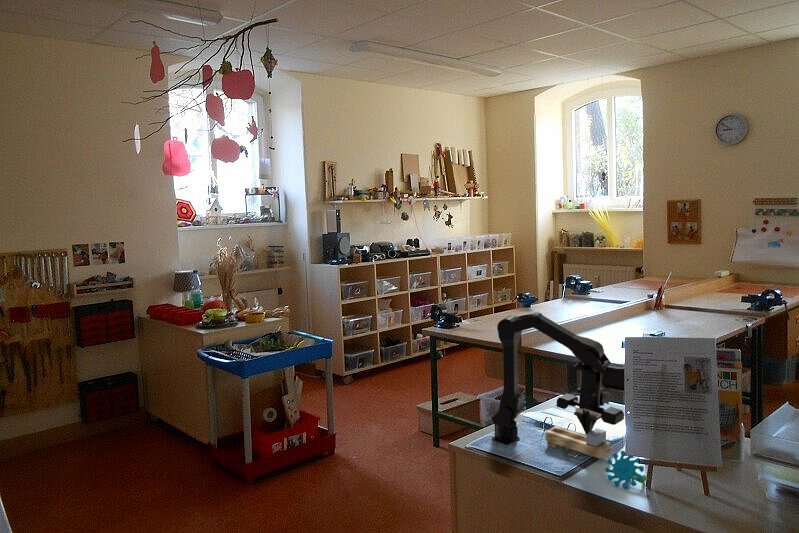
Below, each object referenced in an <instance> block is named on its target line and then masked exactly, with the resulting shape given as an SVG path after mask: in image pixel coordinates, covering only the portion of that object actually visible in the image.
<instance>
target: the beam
mask: <svg viewBox="0 0 799 533" xmlns="http://www.w3.org/2000/svg"><path fill="white" fill-rule="evenodd" d="M544 440H545V441H546V442H547V444H546V445H547V447H550V448H554V449H556V448H558V447H559V446H562V447H564V448H566V455H568V454H570V455H573V456H576V455H578V454H580V453H582V454H585V455H588V456H591V457H594V458H597V459H601V458H603V457H605V456H606V455H607V454H609V453H610V452H611V442H610V441H607V440H605V441H604V442H602V446H593V445H590V444H587V443H586V434H583V433H580V432H577V431H574V430H571V429H568V428H565V427H562V426H559V425H555V426H552V427H551V428H550V429H548V430H546V431H545V438H544ZM570 455H569V456H570ZM580 455H581V454H580ZM573 456H572V457H573Z"/></svg>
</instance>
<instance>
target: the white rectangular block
mask: <svg viewBox="0 0 799 533" xmlns="http://www.w3.org/2000/svg"><path fill="white" fill-rule="evenodd" d="M585 435H586V443H587V444H590V445H593V446H602V442H604V441H607V430H605V429H601V428H599V427H596V428H595V429H594V428H593V429H592V431H591V432H589V433H587V434H585Z"/></svg>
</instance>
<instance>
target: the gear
mask: <svg viewBox="0 0 799 533" xmlns="http://www.w3.org/2000/svg"><path fill="white" fill-rule="evenodd" d="M625 452H626V451H625V450H621V451H620V457H619V455H618V453H617V452H614V453H612V457H613V459H614V463H613V461H612V459H611V458H608V459H607V460H606V463H607V465H610V466H612V469H611V468H609V466H605V468H604V471H605V473H613V474H614V475H611V474H607V476H606V477H607V479H608V481H609V482H610V481H612V480H614V479H617V480H614V481H613V482H612V483H613V484H614V486H615V487H617V488H618V487H619V486H620V483H621V482H623V481H624V482H623V483H622V484H621V487H622V488H623V489H628V487H629V485H628V482H629V481H630V480H631V481H630V485H631V486H632V487H635V486H637V482H638V483H640V484H642V485H644V486H645V485H646V482H647V481H648V477H647V475H645V474H643V475H642V474H640V473H637V471H636V470H639V471H640V472H641V473H643V472H644V470H645V467H644V466H643V465H640V463H639V458H640V457H636V458H635V457H633V456H629V455H627V452H626V453H625ZM626 456H627V457H626ZM624 457H625V458H624ZM618 458H619V459H618ZM634 458H635V459H634ZM631 459H633V460H631ZM635 463H637V464H638V465H635Z"/></svg>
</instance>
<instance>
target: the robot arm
mask: <svg viewBox="0 0 799 533" xmlns="http://www.w3.org/2000/svg"><path fill="white" fill-rule="evenodd" d="M496 326H497V327H496V328H497V334H498V338H499V340H500V344H501V347H502V370H503V372H502V375H503V376H502V377H503V378H502V380H503V391H502V394H501V397H500V399H499V406H498V411H497V412H495V414H494V415H492V416H491V421H492V423H493V425H494V436H492V437H491V440H493V441H496V442H498V443H500V444H504V445H507V446H508V445H511V444H513V443H514V442H517V441H518V440H520V439H521V438H520V436H518V434H519V432H518V430H519V428H518V426H517V421H516V420H515V419H516V418H518V416H519V415H520V414H522V412H523V410H524V408H525V407H526V401H525V398H526V394H525V393H521V391H520V389H519V347H518V346H519V343H520V339H521V337H522V332H523V331H525V330H529V329H532V328H534V329H535V330H537V331H538V332H540V333H542V334H544V335H546V336H547V337H549V338H550V339H552V340H554V341H555V342H557V343H559V344H561V345H562V346H564V347H565V348H567V349H568V350H569V351H570V352H571V353H572V354H573V356H574V357H575V358H577V359H578V360H579V361H578V362H577V363H576V364H575V365H574V366H573V370H577V371H580V376H579V378H580V380H579V387H578V388H577V390H576V391H577V393H578V394H579V396H576V395H574V394H571V393H565V394H562V395H561V396H559V397H557V399H556V407H557V408H559V409H563V410H566V409H567V408H568V407H569V406H571V407H574V409H575V411H574V412H573V415H574V416H575V417H576V418H577V419H578V422H579V423H580V425H581V427H582V430H583V432H584V433H585V434H584V435H586V434H587V433H589V432H591V431H592V430H594V426H595V424H596V423H597V421H598V420H599V419H601V420H602V422H603V423H606V424H609V425H611V426H615V425H617V424H619V423H620V422H622V421H623V420H624V419H625V413H624V411H623V409H620V408H617V407H613V406H609V407H608V408H606V409H605V408H604V407H603V406H604V405H605V404H606V405H609V404H610V399H611V393H609V392H605V391H604V388H605V390H606V389H607V390H611V391H618V392H624V367H625V366H615V365H611V364H612V362H611V361H610V359H609V358H608V356H607V355H606V353H605V349H604V345H603V344H602V343H601V342H599V341H597V340H594V339H592V338H590V337H585V336H582V335H581V336H580V335H577V334H576V333H574V332H573V331H571V330H569V329H567V328H565V327H563V326H561V325H560V324H558V323H557V322H555V321H553V320H552V319H550V318H548V317H546V316H545V315H543V314H542V312H539V311H535V312H533V313H528V314H523V315H519V316H518V315H515V314H511V315H508V316H506V317H504V318H503V319H501V320H500V321H498V323H497V325H496ZM602 386H603V387H602ZM624 393H625V392H624ZM578 397H579V398H578Z"/></svg>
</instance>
